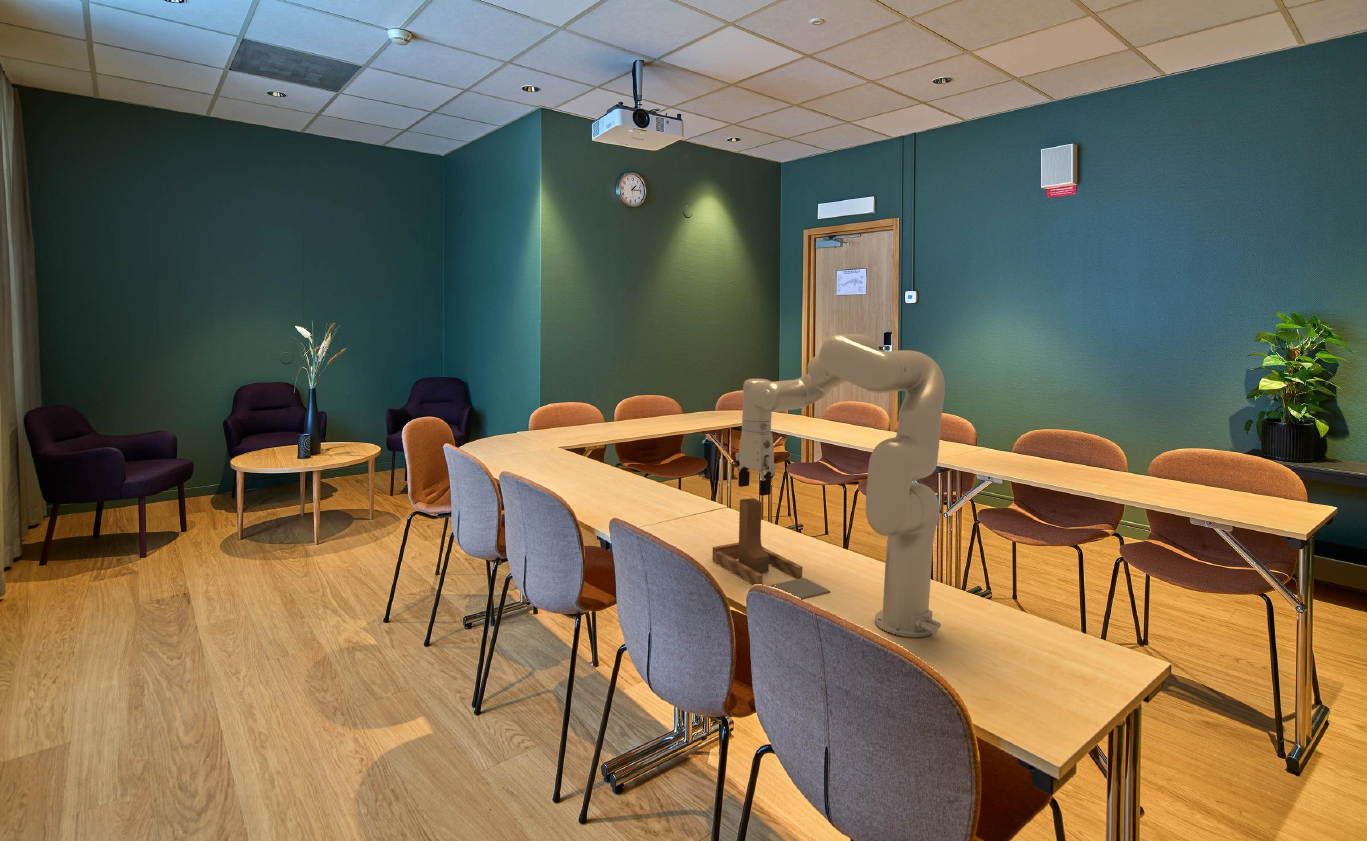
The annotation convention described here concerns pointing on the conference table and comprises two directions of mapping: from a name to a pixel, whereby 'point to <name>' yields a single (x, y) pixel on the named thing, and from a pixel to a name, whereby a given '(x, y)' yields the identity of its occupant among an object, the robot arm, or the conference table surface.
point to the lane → (727, 557)
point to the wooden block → (751, 536)
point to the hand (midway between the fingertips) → (754, 490)
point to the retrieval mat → (801, 588)
